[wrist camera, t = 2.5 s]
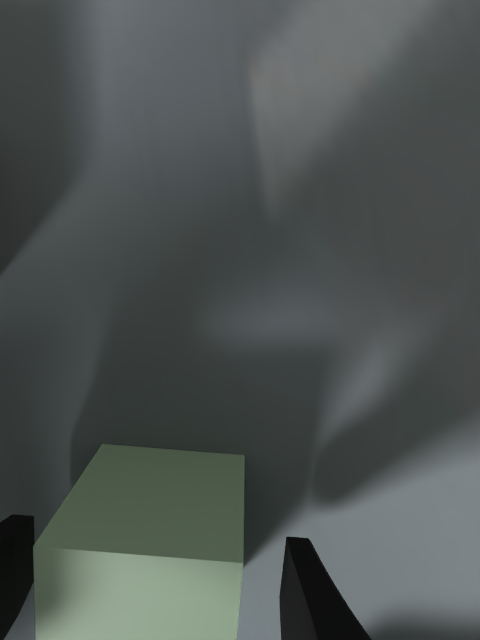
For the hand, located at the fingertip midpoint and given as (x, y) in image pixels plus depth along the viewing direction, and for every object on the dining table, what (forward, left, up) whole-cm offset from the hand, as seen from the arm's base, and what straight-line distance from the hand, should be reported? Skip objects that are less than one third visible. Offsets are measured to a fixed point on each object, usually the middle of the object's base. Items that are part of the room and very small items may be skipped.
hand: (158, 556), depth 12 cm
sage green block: (0, 0, -2) cm, 2 cm away
